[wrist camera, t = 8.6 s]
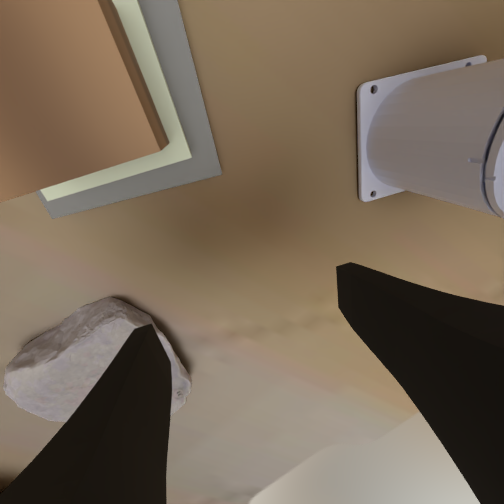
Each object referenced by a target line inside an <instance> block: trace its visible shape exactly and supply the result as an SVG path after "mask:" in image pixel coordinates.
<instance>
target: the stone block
mask: <svg viewBox="0 0 504 504" xmlns="http://www.w3.org/2000/svg"><path fill="white" fill-rule="evenodd" d="M151 323H152V325H153V327H154V329H155V331H156V333H157V335H158V337H159V339H160V341H161V343H162V345H163V347H164V349H165V351H166V353H167V355H168V357H169V359H170V361H171V372H172V401H171V414H170V416H171V415H172V414H173V413H174V412H176V411H177V410H178V409H179V408H180V407H181V406H183V405H184V404H185V403H186V399H187V398H186V396H187V395H189V394H190V392H191V386H192V379H191V376H190V375H189V374H188V372H187V371H186V369H185V368H184V367H183V365H182V364H181V362H180V359H179V358H178V357H177V355H176V353H175V352H174V351H173V348H172V346H171V344H170V343H169V342H168V341H167V339H166V337H165V336H164V334H163V333H162V332H161V331H159V330H158V329H157V327H156V325H155V323H154V322H153V320H152V318H151V317H150V315H149V314H147V313H144V312H142V311H140V310H138V309H137V308H135V307H133V306H131V305H129V304H127V303H125V302H124V301H121V300H119V299H116V298H113V297H107V298H104V299H101V300H99V301H97V302H94V303H91V304H87V305H85V306H83V307H80V308H78V309H77V310H76V311H75V312H74V313H73V314H72V315H70V316H69V317H68V318H65V319H64V321H63V322H62V324H61V325H59V326H57V327H55V328H53V329H51V330H49V331H47V332H45V333H43V334H42V335H40V336H39V337H37V338H35V339H34V340H32V341H31V342H30V343H28V344H27V345H25V346H24V348H23V349H22V350H21V351H20V352H19V353H18V354H17V355H16V356H15V357H14V358H13V359H12V361H11V362H10V363H9V364H8V365H7V367H6V370H5V376H4V377H5V378H4V385H3V388H4V391H5V393H6V395H8V396H9V398H11V399H12V400H14V401H15V403H16V404H17V406H18V407H19V408H22V409H24V410H26V411H28V412H29V413H32V414H36V415H37V416H39V417H42V418H44V419H46V420H48V421H61V422H67V420H68V419H69V418H70V417H71V415H72V414H73V413H74V412H75V410H76V409H77V408H78V406H79V405H80V404H81V402H82V401H83V400H84V399H85V397H86V396H87V395H88V393H89V392H90V391H91V389H92V388H93V387H94V385H95V384H96V383H97V381H98V380H99V379H100V377H101V376H102V374H103V373H104V372H105V370H106V369H107V367H108V366H109V365H110V363H111V362H112V360H113V359H114V357H115V356H116V354H117V353H118V352H119V350H120V349H121V347H122V346H123V344H124V343H125V341H126V340H127V338H128V337H129V336H130V334H131V333H132V331H133V330H134V329H135V328H138V327H141V326H145V325H148V324H151Z"/></svg>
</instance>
